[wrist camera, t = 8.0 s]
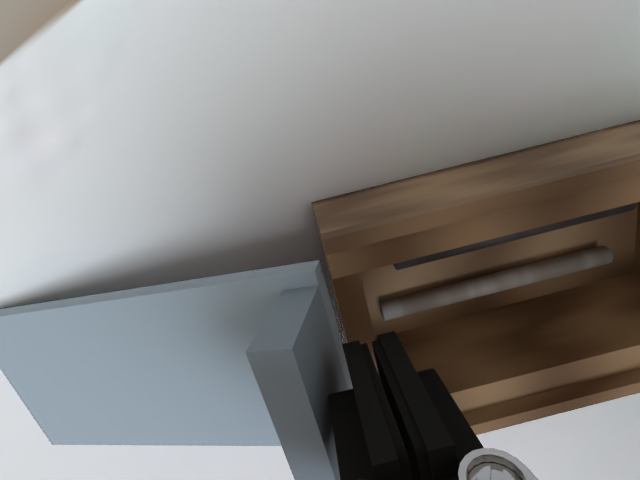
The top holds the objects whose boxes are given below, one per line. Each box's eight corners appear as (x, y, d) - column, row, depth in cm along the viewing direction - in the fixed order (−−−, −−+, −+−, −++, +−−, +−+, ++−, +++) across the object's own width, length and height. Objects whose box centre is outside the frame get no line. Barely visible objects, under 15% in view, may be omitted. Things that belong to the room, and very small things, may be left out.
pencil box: (651, 117, 15) (845, 107, 10) (638, 289, 18) (784, 355, 13) (311, 202, 15) (323, 239, 10) (351, 363, 18) (377, 460, 13)
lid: (319, 259, 11) (285, 330, 8) (365, 427, 13) (355, 540, 10) (-12, 311, 15) (-130, 370, 12) (66, 430, 18) (-14, 509, 14)
